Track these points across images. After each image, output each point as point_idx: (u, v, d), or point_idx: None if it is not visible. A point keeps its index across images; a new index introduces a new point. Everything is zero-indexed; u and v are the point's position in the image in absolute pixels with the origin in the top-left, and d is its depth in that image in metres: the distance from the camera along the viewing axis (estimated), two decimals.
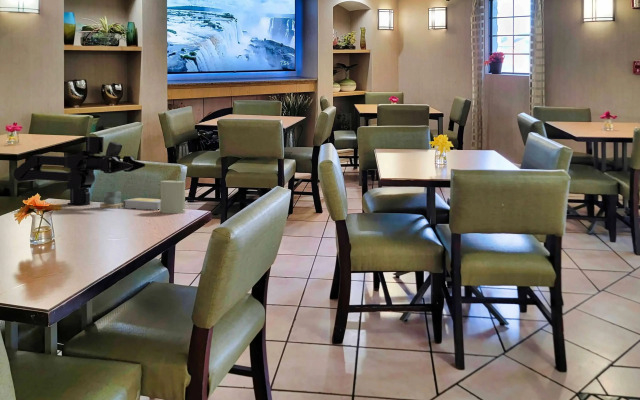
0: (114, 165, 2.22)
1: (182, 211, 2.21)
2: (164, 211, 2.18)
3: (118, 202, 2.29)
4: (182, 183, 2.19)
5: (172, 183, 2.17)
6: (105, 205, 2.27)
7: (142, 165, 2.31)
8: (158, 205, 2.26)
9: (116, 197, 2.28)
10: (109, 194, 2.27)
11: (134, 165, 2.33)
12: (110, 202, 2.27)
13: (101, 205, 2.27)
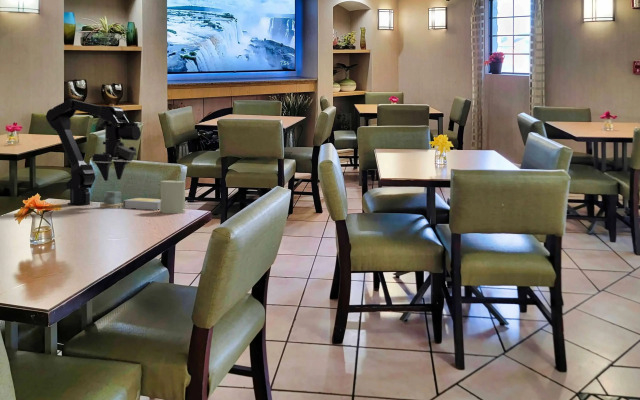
0: (103, 163, 2.22)
1: (182, 211, 2.21)
2: (164, 211, 2.18)
3: (118, 202, 2.29)
4: (182, 183, 2.19)
5: (172, 183, 2.17)
6: (105, 205, 2.27)
7: (118, 177, 2.33)
8: (158, 205, 2.26)
9: (116, 197, 2.28)
10: (109, 194, 2.27)
11: (118, 167, 2.33)
12: (110, 202, 2.27)
13: (101, 205, 2.27)
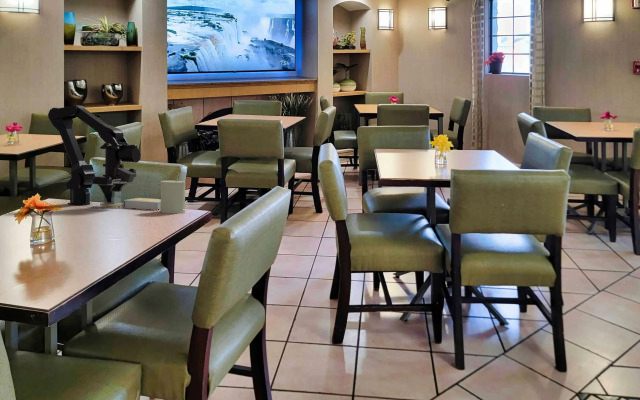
0: (106, 185, 2.25)
1: (182, 211, 2.21)
2: (164, 211, 2.18)
3: (118, 202, 2.29)
4: (182, 183, 2.19)
5: (172, 183, 2.17)
6: (105, 205, 2.27)
7: None
8: (158, 205, 2.26)
9: (116, 197, 2.28)
10: None
11: (115, 189, 2.32)
12: (110, 202, 2.27)
13: (101, 205, 2.27)
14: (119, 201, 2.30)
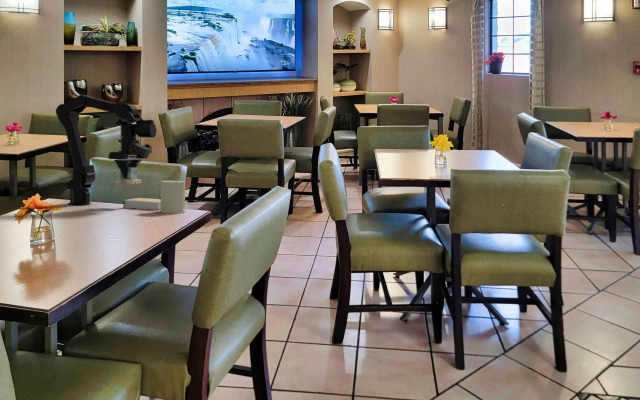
0: (122, 161, 2.25)
1: (182, 211, 2.21)
2: (164, 211, 2.18)
3: (134, 178, 2.29)
4: (182, 183, 2.19)
5: (172, 183, 2.17)
6: (121, 181, 2.27)
7: None
8: (158, 205, 2.26)
9: (132, 173, 2.28)
10: None
11: (131, 165, 2.32)
12: (126, 178, 2.27)
13: (117, 181, 2.27)
14: (135, 177, 2.30)
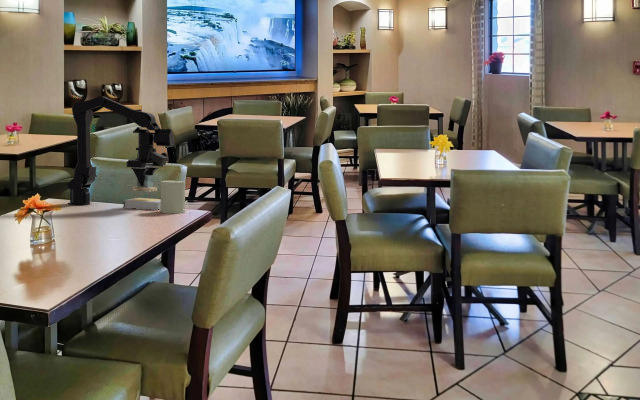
0: None
1: (182, 211, 2.21)
2: (164, 211, 2.18)
3: (150, 185, 2.31)
4: (182, 183, 2.19)
5: (172, 183, 2.17)
6: (138, 188, 2.29)
7: None
8: (158, 205, 2.26)
9: (149, 181, 2.30)
10: None
11: (147, 173, 2.34)
12: None
13: (134, 188, 2.29)
14: (151, 185, 2.32)
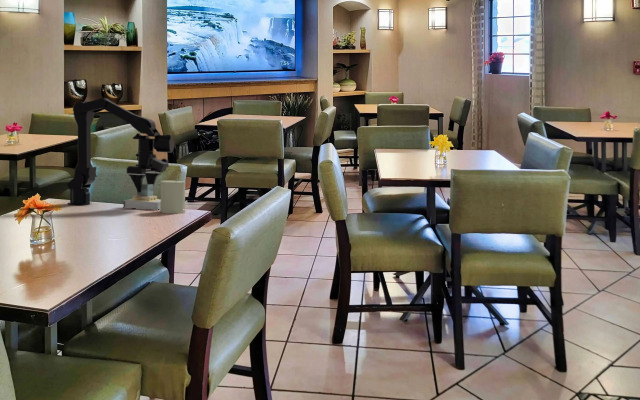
0: (136, 175, 2.25)
1: (182, 211, 2.21)
2: (164, 211, 2.18)
3: (150, 194, 2.32)
4: (182, 183, 2.19)
5: (172, 183, 2.17)
6: (138, 197, 2.29)
7: None
8: (158, 205, 2.26)
9: (149, 190, 2.30)
10: (142, 186, 2.29)
11: (150, 179, 2.36)
12: (143, 194, 2.29)
13: (134, 197, 2.30)
14: (151, 194, 2.32)
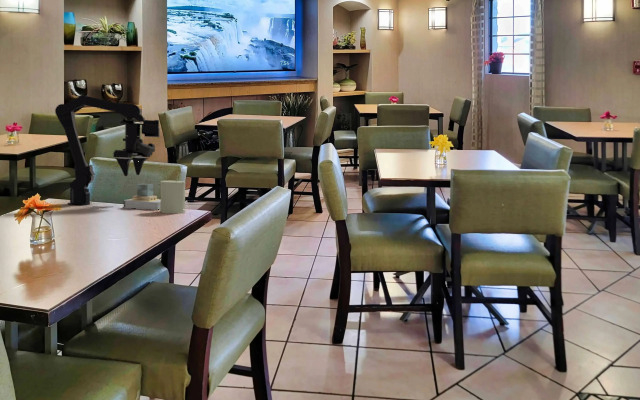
0: (123, 159, 2.30)
1: (182, 211, 2.21)
2: (164, 211, 2.18)
3: (150, 194, 2.32)
4: (182, 183, 2.19)
5: (172, 183, 2.17)
6: (138, 197, 2.29)
7: (137, 172, 2.41)
8: (158, 205, 2.26)
9: (149, 190, 2.30)
10: (142, 186, 2.29)
11: (137, 163, 2.41)
12: (143, 194, 2.29)
13: (134, 197, 2.30)
14: (151, 194, 2.32)
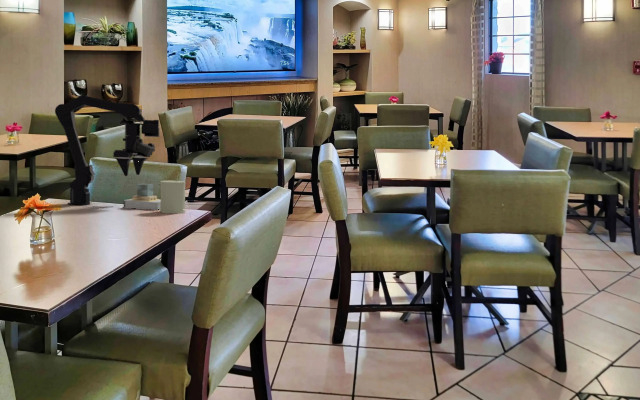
0: (123, 159, 2.30)
1: (182, 211, 2.21)
2: (164, 211, 2.18)
3: (150, 194, 2.32)
4: (182, 183, 2.19)
5: (172, 183, 2.17)
6: (138, 197, 2.29)
7: (137, 172, 2.41)
8: (158, 205, 2.26)
9: (149, 190, 2.30)
10: (142, 186, 2.29)
11: (137, 163, 2.41)
12: (143, 194, 2.29)
13: (134, 197, 2.30)
14: (151, 194, 2.32)
